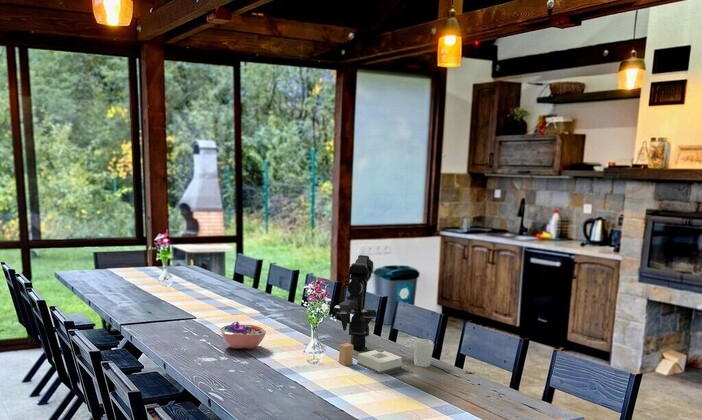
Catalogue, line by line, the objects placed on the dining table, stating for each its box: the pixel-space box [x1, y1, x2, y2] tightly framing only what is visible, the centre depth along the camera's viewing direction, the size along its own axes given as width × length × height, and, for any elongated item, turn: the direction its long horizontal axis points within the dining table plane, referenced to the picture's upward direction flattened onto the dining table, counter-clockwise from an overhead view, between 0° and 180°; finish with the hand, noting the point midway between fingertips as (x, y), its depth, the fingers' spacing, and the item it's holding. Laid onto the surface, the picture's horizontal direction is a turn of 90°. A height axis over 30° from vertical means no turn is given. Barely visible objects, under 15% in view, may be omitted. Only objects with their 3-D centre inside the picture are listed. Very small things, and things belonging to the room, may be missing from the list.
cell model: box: [219, 321, 267, 350], centre depth 239 cm, size 17×20×11 cm
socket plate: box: [357, 348, 403, 375], centre depth 228 cm, size 13×13×5 cm
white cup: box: [413, 338, 434, 368], centre depth 234 cm, size 8×8×10 cm
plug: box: [338, 342, 354, 367], centre depth 228 cm, size 4×4×8 cm
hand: (353, 332), depth 227 cm, fingers open, 9 cm apart
